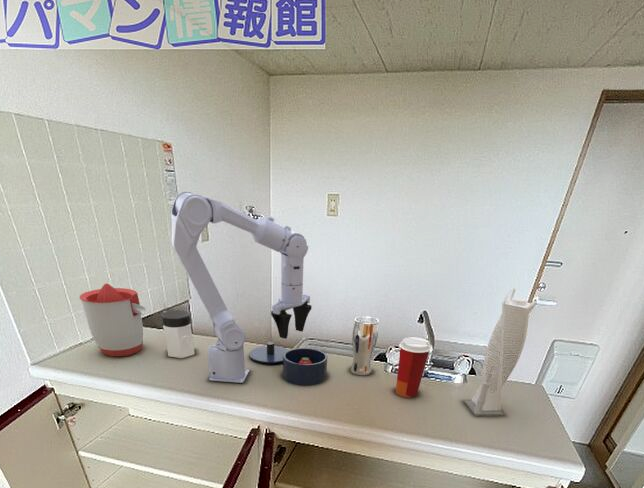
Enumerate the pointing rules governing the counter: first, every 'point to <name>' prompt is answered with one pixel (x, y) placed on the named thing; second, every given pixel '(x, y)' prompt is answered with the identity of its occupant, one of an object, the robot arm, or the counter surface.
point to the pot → (304, 366)
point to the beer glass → (364, 344)
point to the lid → (268, 353)
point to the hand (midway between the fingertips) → (291, 334)
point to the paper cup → (411, 365)
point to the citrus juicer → (114, 319)
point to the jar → (178, 334)
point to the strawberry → (305, 361)
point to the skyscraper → (501, 355)
